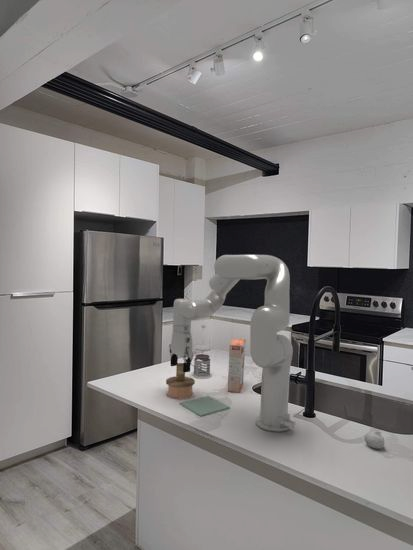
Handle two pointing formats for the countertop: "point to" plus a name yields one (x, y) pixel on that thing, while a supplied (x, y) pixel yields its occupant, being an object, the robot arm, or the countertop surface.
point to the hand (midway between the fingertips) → (180, 368)
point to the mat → (204, 406)
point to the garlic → (374, 440)
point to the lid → (180, 378)
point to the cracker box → (236, 365)
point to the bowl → (179, 392)
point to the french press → (202, 362)
